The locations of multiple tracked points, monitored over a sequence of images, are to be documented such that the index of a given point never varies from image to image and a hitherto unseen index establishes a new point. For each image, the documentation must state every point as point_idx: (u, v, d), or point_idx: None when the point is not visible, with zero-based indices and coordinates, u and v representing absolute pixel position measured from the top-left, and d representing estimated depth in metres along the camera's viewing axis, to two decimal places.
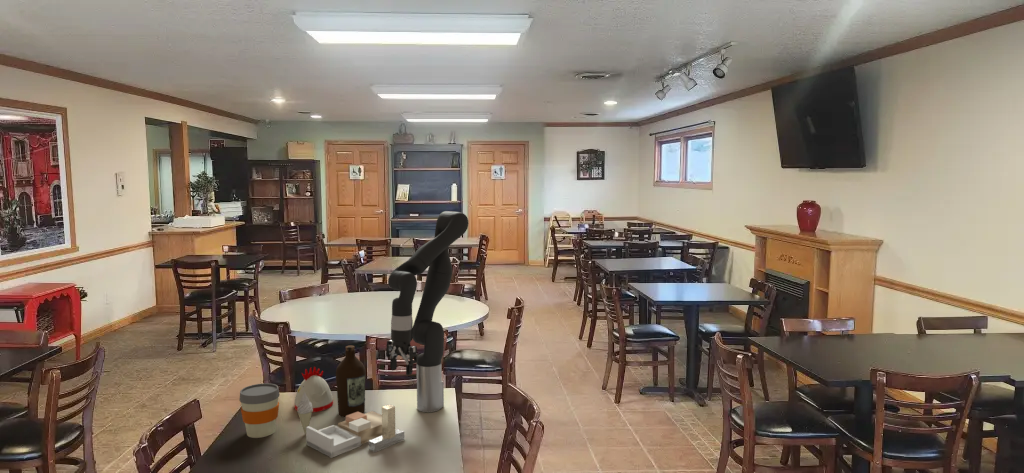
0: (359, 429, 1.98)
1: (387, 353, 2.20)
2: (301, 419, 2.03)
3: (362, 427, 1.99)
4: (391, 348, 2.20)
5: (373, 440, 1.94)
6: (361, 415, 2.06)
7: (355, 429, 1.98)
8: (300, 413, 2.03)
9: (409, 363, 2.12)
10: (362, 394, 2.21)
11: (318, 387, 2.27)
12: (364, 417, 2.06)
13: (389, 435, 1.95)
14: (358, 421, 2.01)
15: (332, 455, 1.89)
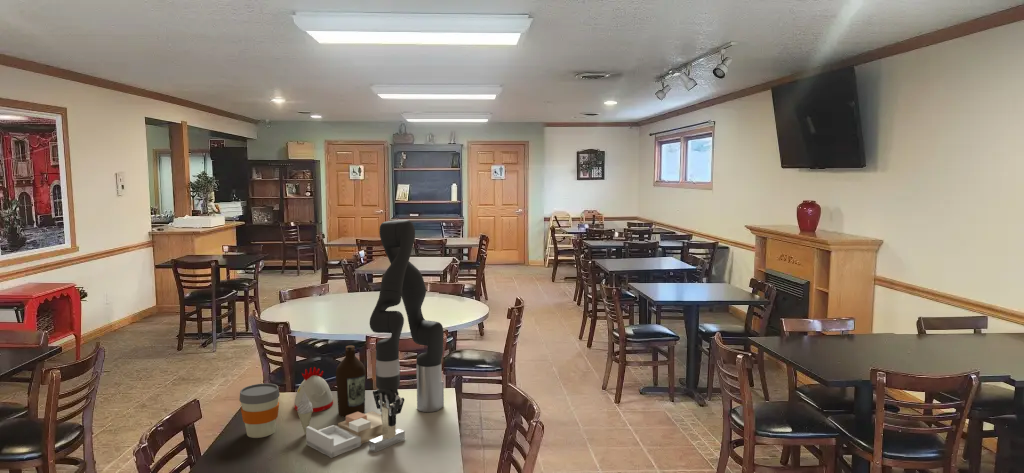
0: (359, 429, 1.98)
1: (378, 405, 1.98)
2: (301, 419, 2.03)
3: (362, 427, 1.99)
4: (380, 398, 1.99)
5: (373, 440, 1.94)
6: (361, 415, 2.06)
7: (355, 429, 1.98)
8: (300, 413, 2.03)
9: (392, 414, 1.94)
10: (362, 394, 2.21)
11: (318, 387, 2.27)
12: (364, 417, 2.06)
13: (389, 435, 1.95)
14: (358, 421, 2.01)
15: (332, 455, 1.89)
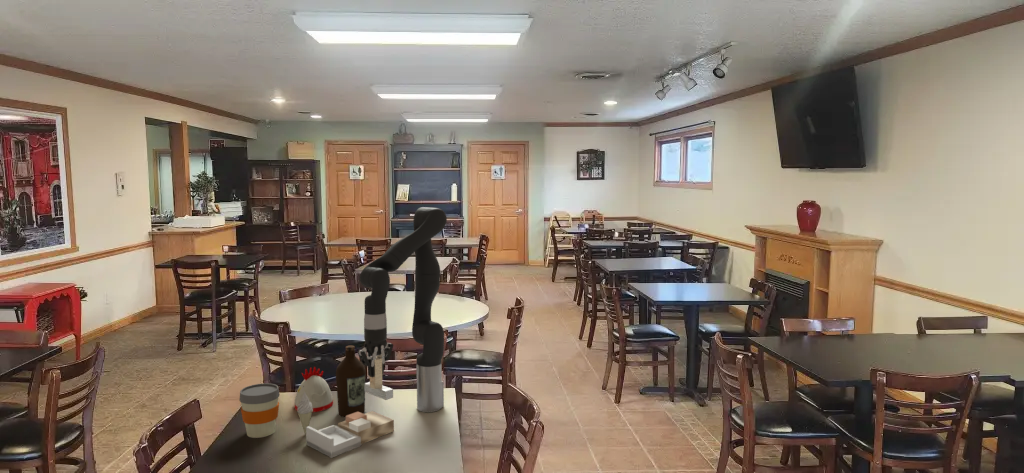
0: (359, 429, 1.98)
1: None
2: (301, 419, 2.03)
3: (362, 427, 1.99)
4: (386, 351, 2.11)
5: None
6: (361, 415, 2.06)
7: (355, 429, 1.98)
8: (300, 413, 2.03)
9: None
10: (362, 394, 2.21)
11: (318, 387, 2.27)
12: (364, 417, 2.06)
13: (370, 384, 2.08)
14: (358, 421, 2.01)
15: (332, 455, 1.89)
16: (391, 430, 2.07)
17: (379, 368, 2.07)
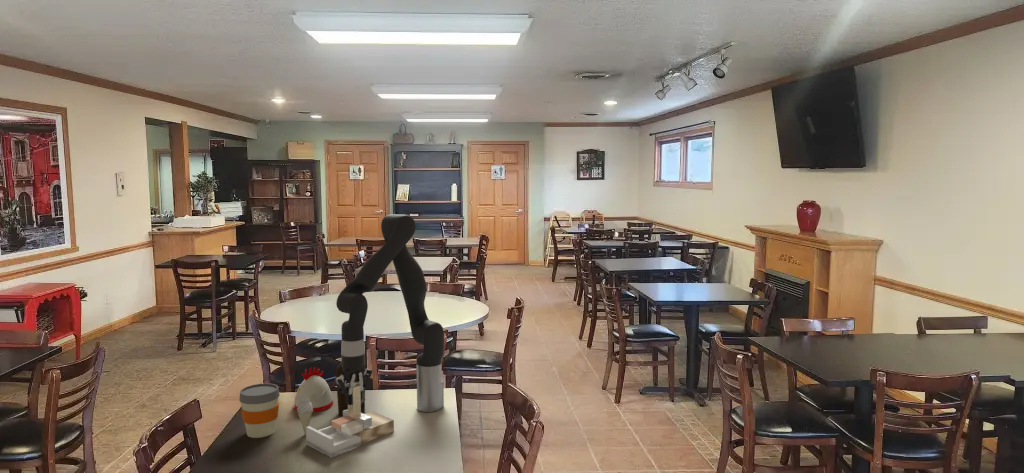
0: (351, 432, 1.96)
1: None
2: (301, 419, 2.03)
3: (354, 430, 1.96)
4: (365, 377, 2.05)
5: None
6: (347, 420, 2.02)
7: (347, 432, 1.96)
8: (300, 413, 2.03)
9: None
10: None
11: (318, 387, 2.27)
12: None
13: (348, 412, 2.02)
14: (351, 424, 1.99)
15: (332, 455, 1.89)
16: (391, 430, 2.07)
17: (357, 395, 2.01)
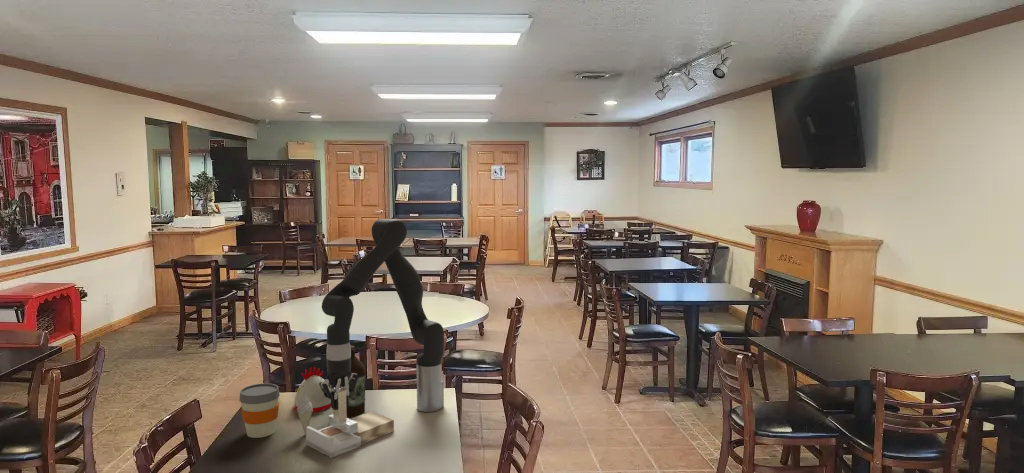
0: None
1: None
2: (301, 419, 2.03)
3: None
4: (351, 382, 2.00)
5: None
6: (338, 430, 2.00)
7: None
8: (300, 413, 2.03)
9: None
10: (362, 394, 2.21)
11: (318, 387, 2.27)
12: None
13: (334, 417, 1.98)
14: (341, 435, 1.96)
15: (332, 455, 1.89)
16: (391, 430, 2.07)
17: (343, 400, 1.97)
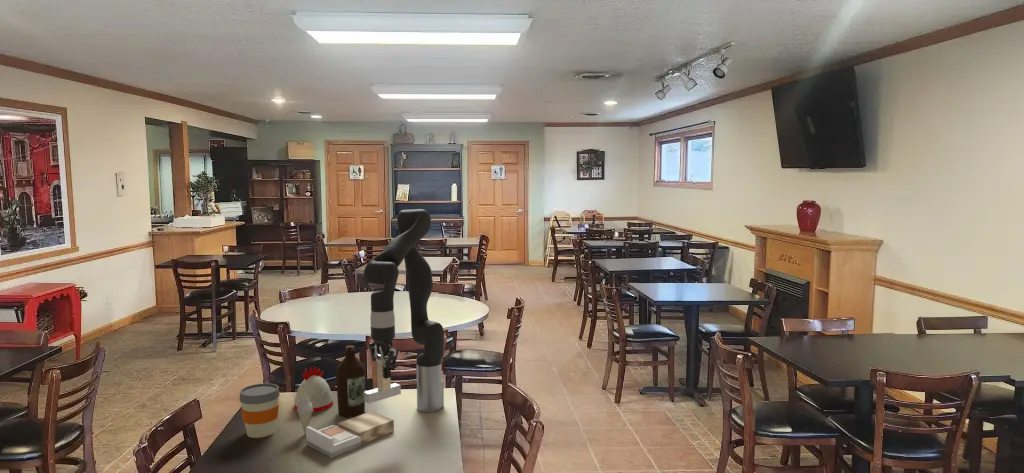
0: None
1: (373, 357, 1.96)
2: (301, 419, 2.03)
3: None
4: None
5: (368, 391, 1.93)
6: (338, 430, 2.00)
7: None
8: (300, 413, 2.03)
9: (386, 366, 1.92)
10: (362, 394, 2.21)
11: (318, 387, 2.27)
12: None
13: (384, 387, 1.94)
14: (341, 435, 1.96)
15: (332, 455, 1.89)
16: (391, 430, 2.07)
17: None
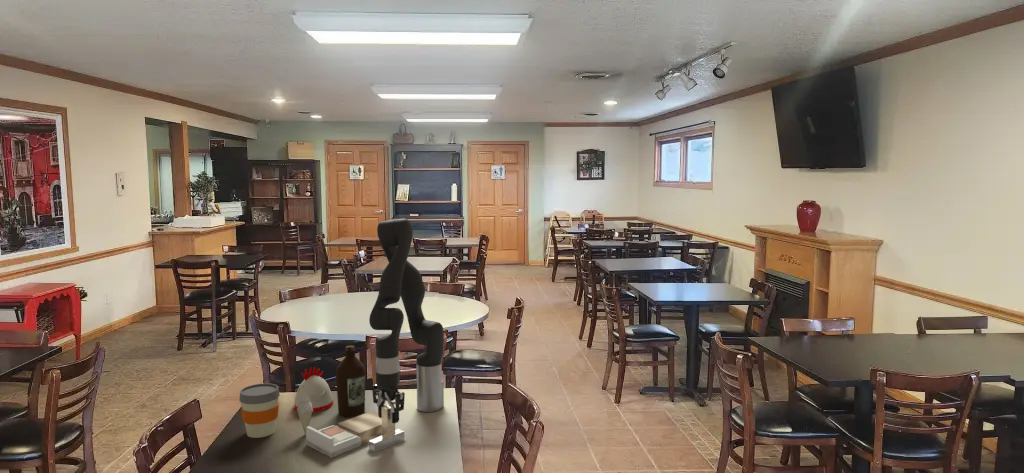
0: None
1: (374, 399, 1.98)
2: (301, 419, 2.03)
3: None
4: (378, 393, 1.99)
5: (373, 440, 1.94)
6: (338, 430, 2.00)
7: None
8: (300, 413, 2.03)
9: (395, 411, 1.92)
10: (362, 394, 2.21)
11: (317, 387, 2.27)
12: None
13: (389, 435, 1.95)
14: (341, 435, 1.96)
15: (332, 455, 1.89)
16: None
17: None
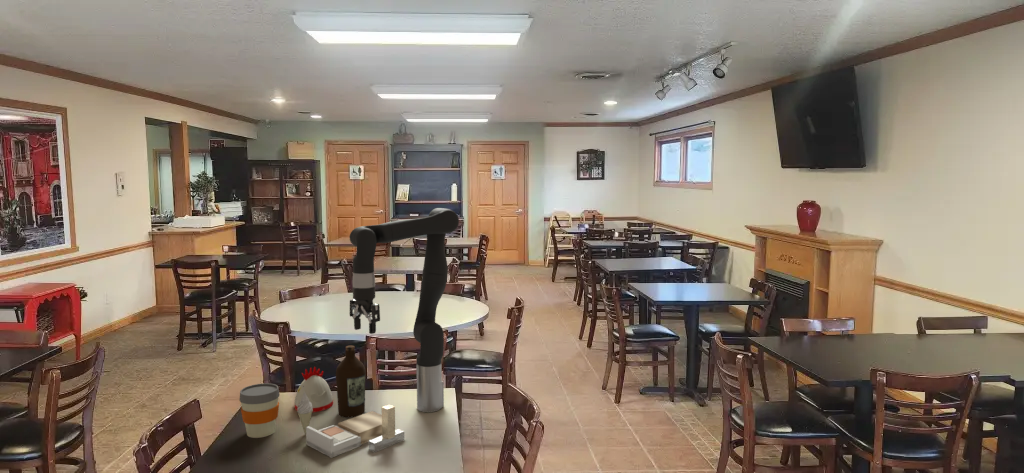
0: None
1: (350, 313, 2.14)
2: (301, 419, 2.03)
3: None
4: (354, 307, 2.14)
5: (373, 440, 1.94)
6: (338, 430, 2.00)
7: None
8: (300, 413, 2.03)
9: (372, 321, 2.07)
10: (362, 394, 2.21)
11: (317, 387, 2.27)
12: None
13: (389, 435, 1.95)
14: (341, 435, 1.96)
15: (332, 455, 1.89)
16: None
17: None
